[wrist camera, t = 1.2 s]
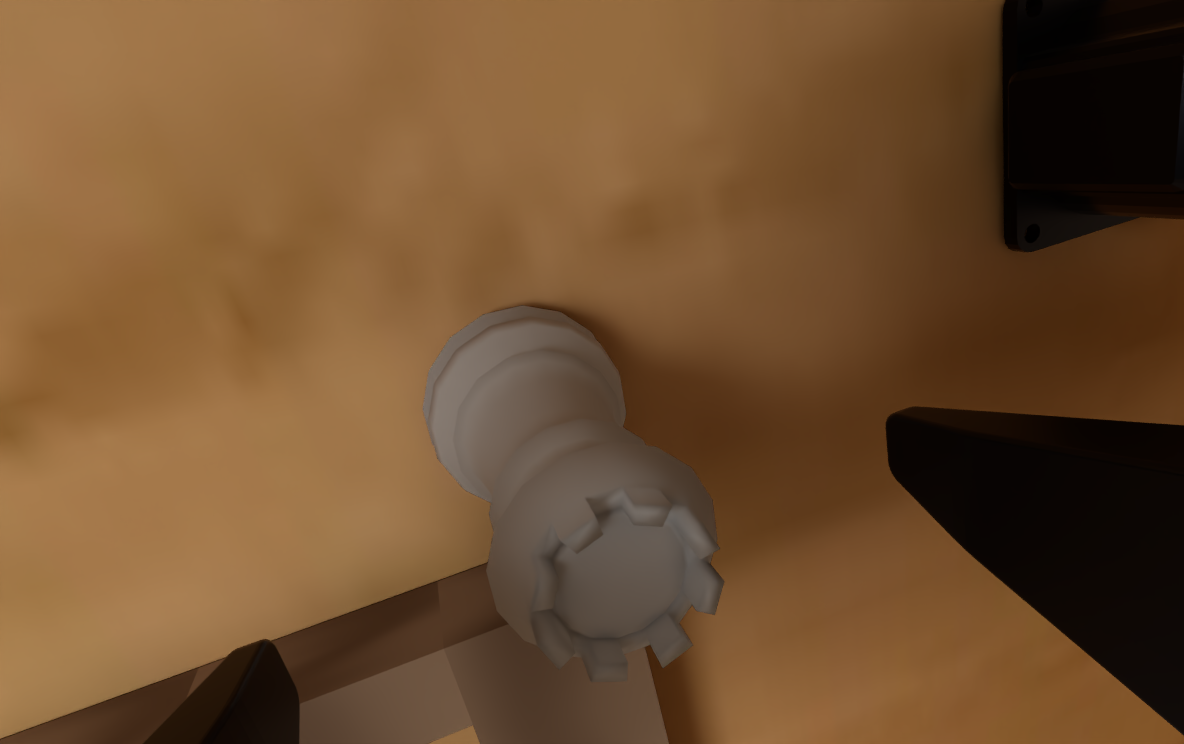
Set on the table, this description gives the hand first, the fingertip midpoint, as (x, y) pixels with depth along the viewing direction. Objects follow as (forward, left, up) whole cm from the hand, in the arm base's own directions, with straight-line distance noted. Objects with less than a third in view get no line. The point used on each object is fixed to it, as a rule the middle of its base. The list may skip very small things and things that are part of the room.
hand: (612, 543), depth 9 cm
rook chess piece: (0, 0, -7) cm, 7 cm away
